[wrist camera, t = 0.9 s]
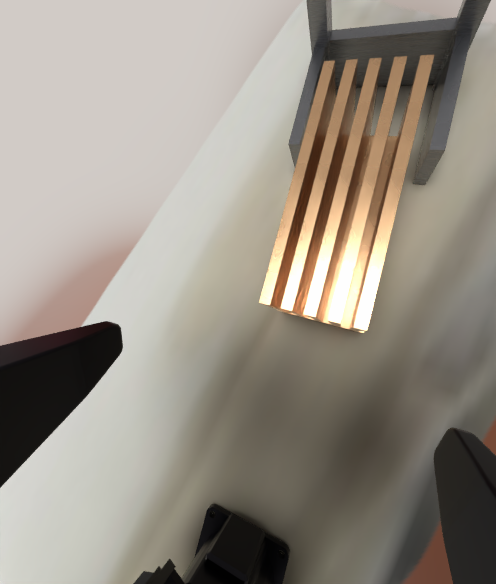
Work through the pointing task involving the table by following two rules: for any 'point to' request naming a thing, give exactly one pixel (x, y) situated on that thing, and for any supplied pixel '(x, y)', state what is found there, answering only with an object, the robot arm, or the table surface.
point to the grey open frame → (388, 44)
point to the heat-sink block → (343, 198)
